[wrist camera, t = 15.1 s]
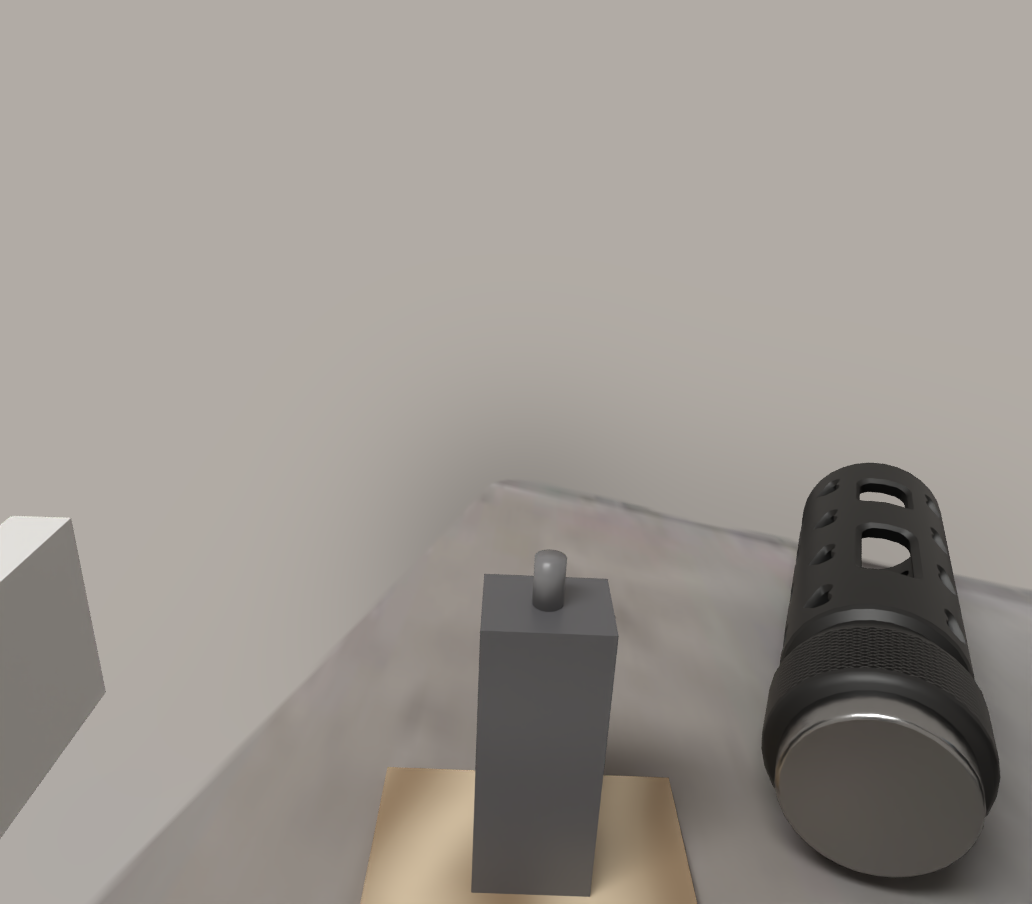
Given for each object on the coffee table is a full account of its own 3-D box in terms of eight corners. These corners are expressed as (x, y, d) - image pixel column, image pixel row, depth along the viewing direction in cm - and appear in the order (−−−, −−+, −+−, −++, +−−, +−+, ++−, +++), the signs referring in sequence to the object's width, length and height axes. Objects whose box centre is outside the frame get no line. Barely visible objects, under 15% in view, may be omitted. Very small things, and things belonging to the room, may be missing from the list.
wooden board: (667, 785, 42) (668, 777, 42) (710, 976, 33) (711, 967, 32) (387, 774, 42) (387, 767, 41) (350, 964, 32) (350, 955, 32)
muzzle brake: (925, 605, 59) (961, 471, 55) (969, 937, 35) (1039, 740, 31) (786, 575, 62) (811, 447, 58) (738, 862, 38) (774, 673, 34)
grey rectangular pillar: (583, 821, 39) (611, 535, 33) (590, 896, 35) (623, 588, 29) (475, 818, 39) (486, 530, 33) (471, 892, 35) (482, 582, 29)
